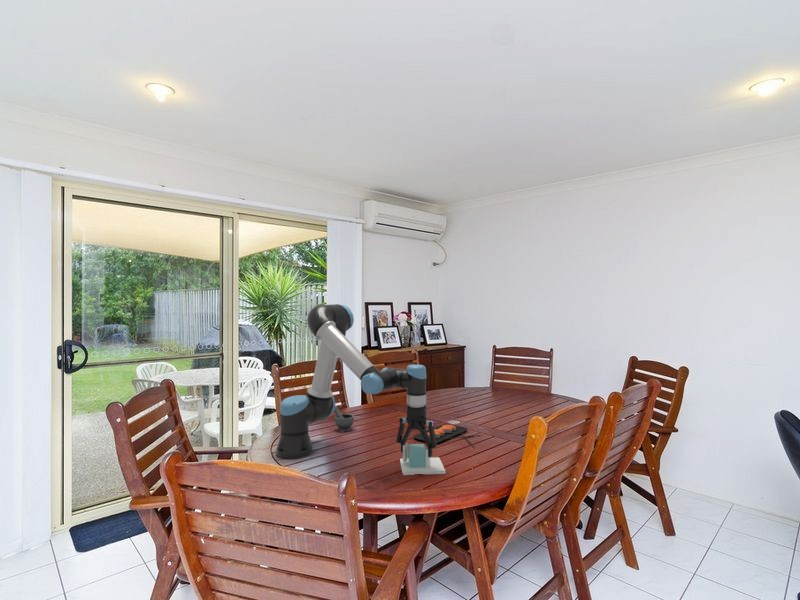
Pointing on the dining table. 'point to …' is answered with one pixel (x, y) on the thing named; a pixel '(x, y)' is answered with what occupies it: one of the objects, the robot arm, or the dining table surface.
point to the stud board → (433, 468)
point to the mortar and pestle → (343, 420)
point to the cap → (417, 455)
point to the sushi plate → (446, 433)
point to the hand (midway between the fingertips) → (416, 462)
